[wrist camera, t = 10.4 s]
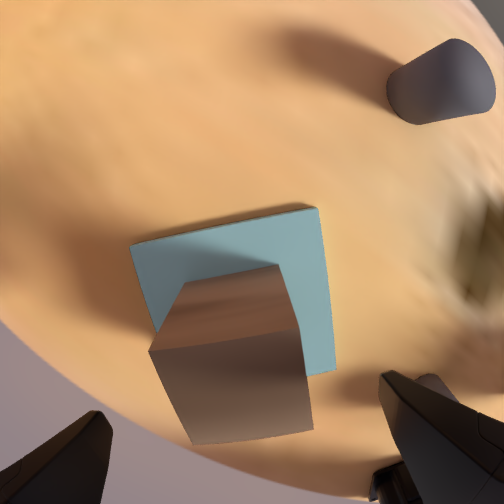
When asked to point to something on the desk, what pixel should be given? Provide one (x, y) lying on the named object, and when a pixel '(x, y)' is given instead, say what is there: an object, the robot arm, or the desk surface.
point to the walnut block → (234, 359)
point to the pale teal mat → (247, 258)
